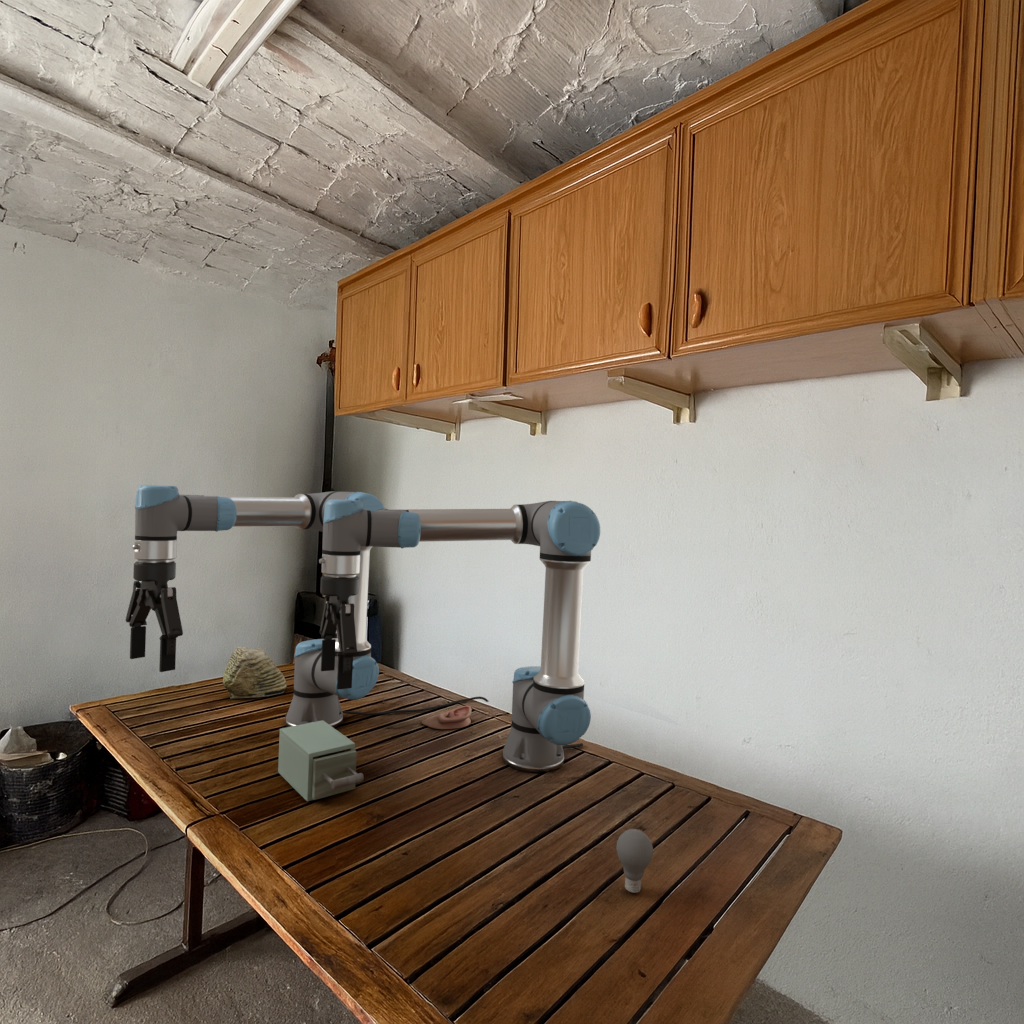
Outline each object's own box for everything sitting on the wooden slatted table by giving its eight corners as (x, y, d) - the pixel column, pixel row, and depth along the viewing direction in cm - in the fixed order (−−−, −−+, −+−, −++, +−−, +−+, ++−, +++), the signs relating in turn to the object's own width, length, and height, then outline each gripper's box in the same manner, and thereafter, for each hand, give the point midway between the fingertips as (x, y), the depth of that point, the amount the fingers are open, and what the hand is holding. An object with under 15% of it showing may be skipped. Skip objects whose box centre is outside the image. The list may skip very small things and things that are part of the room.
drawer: (368, 800, 131) (370, 761, 131) (326, 812, 125) (328, 772, 125) (325, 763, 148) (326, 729, 148) (286, 772, 142) (287, 737, 142)
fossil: (218, 695, 195) (220, 647, 195) (278, 685, 208) (279, 640, 207) (228, 703, 189) (230, 653, 188) (289, 692, 201) (290, 645, 201)
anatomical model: (418, 712, 176) (431, 700, 187) (417, 726, 176) (431, 713, 188) (464, 718, 174) (475, 705, 185) (463, 732, 174) (474, 718, 185)
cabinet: (353, 788, 138) (355, 743, 138) (307, 801, 131) (309, 753, 131) (321, 761, 151) (323, 720, 151) (277, 772, 144) (279, 728, 144)
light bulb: (610, 879, 108) (613, 822, 108) (644, 879, 109) (647, 822, 109) (619, 902, 102) (622, 840, 102) (655, 901, 103) (658, 840, 103)
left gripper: (109, 556, 134) (106, 655, 134) (164, 567, 119) (160, 680, 119) (147, 554, 140) (144, 650, 140) (203, 565, 125) (200, 672, 125)
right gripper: (308, 568, 138) (304, 665, 138) (337, 584, 116) (331, 699, 116) (342, 567, 141) (338, 662, 142) (377, 583, 120) (371, 694, 120)
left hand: (151, 664), depth 130 cm, fingers open, 13 cm apart
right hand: (335, 679), depth 129 cm, fingers open, 13 cm apart
